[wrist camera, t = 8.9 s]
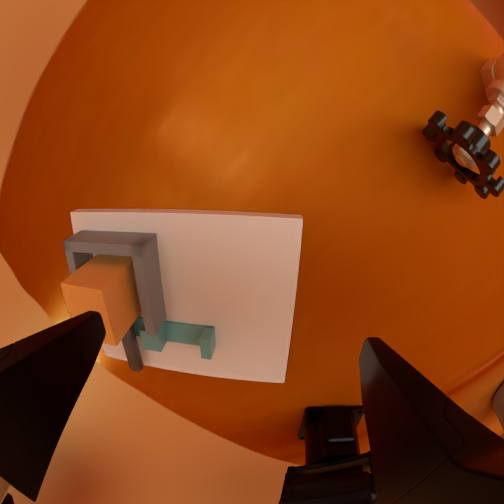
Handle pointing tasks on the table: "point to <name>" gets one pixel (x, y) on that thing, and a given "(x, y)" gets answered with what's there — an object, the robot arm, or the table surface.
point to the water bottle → (499, 404)
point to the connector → (108, 300)
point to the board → (218, 285)
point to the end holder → (144, 264)
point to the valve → (474, 135)
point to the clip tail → (142, 333)
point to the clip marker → (185, 337)
